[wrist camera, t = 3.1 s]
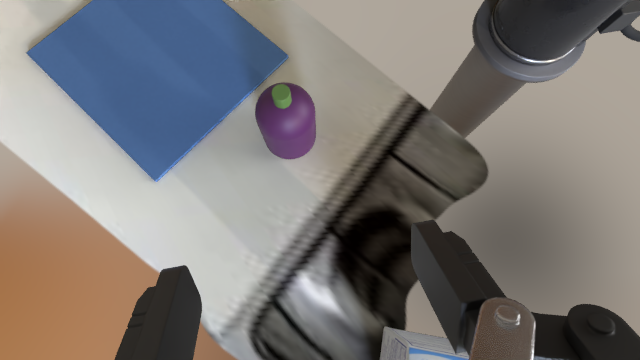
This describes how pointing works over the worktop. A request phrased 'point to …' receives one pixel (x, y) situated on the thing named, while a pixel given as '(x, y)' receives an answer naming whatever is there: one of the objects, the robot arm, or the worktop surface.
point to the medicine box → (416, 347)
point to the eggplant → (286, 120)
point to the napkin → (157, 71)
